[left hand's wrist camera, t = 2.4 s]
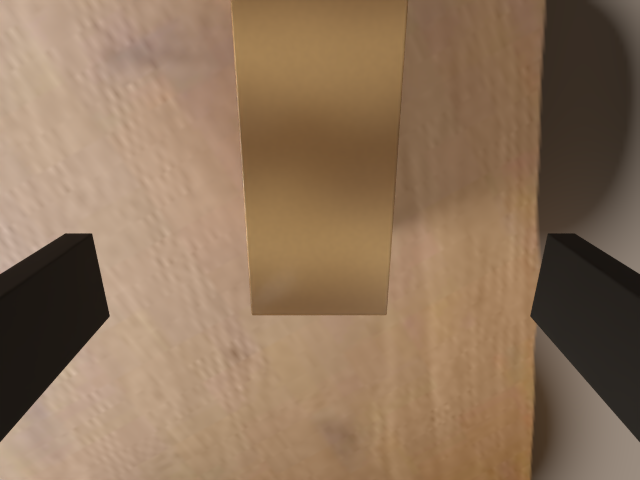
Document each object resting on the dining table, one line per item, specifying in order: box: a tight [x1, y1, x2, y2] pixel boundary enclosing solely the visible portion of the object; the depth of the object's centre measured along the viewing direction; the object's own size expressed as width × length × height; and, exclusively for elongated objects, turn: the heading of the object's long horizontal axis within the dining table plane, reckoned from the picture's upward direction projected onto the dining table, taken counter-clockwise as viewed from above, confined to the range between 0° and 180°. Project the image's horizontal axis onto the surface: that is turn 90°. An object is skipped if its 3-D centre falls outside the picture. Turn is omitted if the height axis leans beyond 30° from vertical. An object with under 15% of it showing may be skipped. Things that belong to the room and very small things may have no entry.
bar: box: [231, 0, 408, 315], centre depth 17 cm, size 23×6×9 cm, turn 0°
